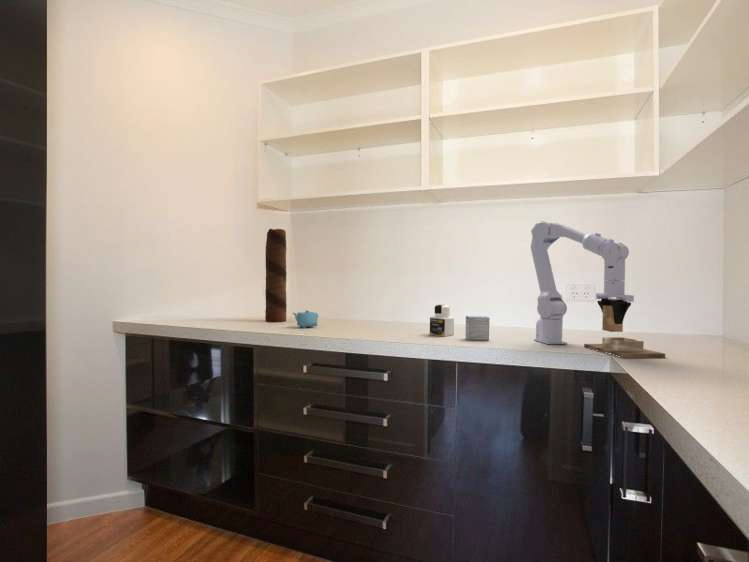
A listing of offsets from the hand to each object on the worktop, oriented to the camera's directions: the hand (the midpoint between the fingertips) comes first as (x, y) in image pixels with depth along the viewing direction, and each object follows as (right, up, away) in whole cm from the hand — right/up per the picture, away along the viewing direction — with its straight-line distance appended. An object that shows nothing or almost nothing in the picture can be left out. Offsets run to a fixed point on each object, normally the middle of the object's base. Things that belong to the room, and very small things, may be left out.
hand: (613, 323), depth 130 cm
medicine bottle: (-49, -8, +33) cm, 60 cm away
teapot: (-107, -7, +48) cm, 118 cm away
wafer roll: (-125, -7, +69) cm, 143 cm away
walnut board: (+3, -10, +1) cm, 10 cm away
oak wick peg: (0, -3, 0) cm, 3 cm away
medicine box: (-38, -9, +22) cm, 45 cm away
